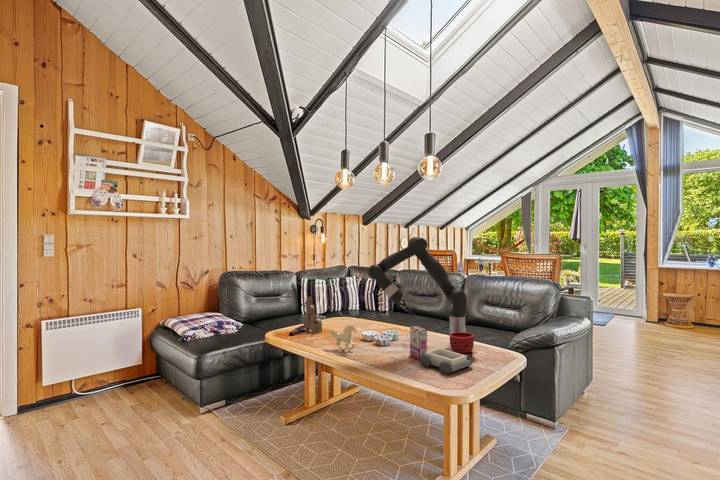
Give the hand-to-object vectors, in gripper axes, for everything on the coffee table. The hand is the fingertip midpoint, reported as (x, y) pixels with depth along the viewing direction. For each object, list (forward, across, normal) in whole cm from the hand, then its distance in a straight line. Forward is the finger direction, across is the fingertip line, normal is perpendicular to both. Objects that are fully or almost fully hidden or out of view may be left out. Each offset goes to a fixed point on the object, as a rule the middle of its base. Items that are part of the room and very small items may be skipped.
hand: (413, 315), depth 213 cm
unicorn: (-12, +12, +45) cm, 48 cm away
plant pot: (+34, +8, -5) cm, 35 cm away
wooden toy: (-38, +53, +60) cm, 89 cm away
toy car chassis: (+30, -11, +6) cm, 32 cm away
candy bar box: (+19, +2, +14) cm, 23 cm away
